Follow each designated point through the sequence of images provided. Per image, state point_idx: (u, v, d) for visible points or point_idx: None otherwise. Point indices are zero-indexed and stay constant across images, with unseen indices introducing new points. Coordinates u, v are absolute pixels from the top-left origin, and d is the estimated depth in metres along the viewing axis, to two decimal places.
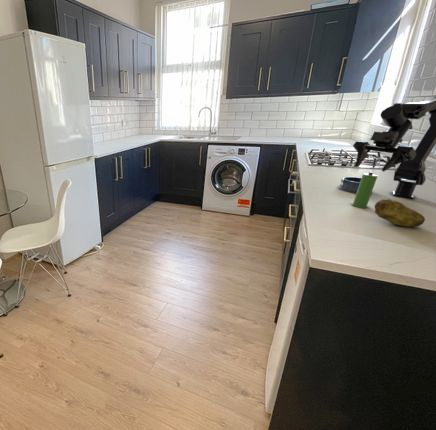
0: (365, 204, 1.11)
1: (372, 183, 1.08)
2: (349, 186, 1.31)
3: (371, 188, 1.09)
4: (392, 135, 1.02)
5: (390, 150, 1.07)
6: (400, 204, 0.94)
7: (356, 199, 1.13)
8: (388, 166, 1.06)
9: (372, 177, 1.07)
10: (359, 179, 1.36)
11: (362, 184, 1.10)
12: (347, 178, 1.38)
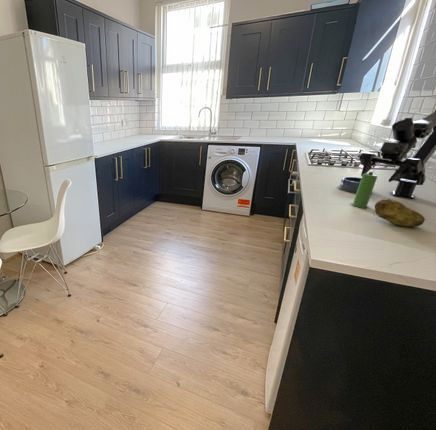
0: (365, 204, 1.11)
1: (372, 183, 1.08)
2: (349, 186, 1.31)
3: (371, 188, 1.09)
4: (403, 146, 1.04)
5: (396, 163, 1.09)
6: (400, 204, 0.94)
7: (356, 199, 1.13)
8: (395, 177, 1.07)
9: (372, 177, 1.07)
10: (359, 179, 1.36)
11: (362, 184, 1.10)
12: (347, 178, 1.38)
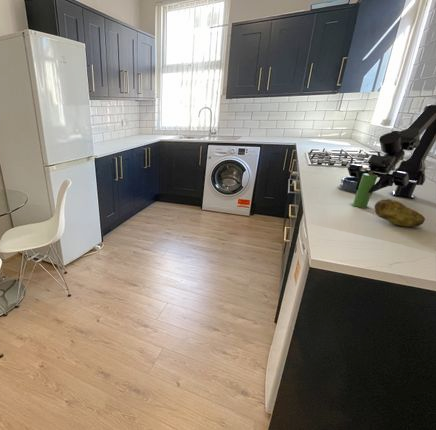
0: (365, 204, 1.11)
1: (372, 183, 1.08)
2: (349, 186, 1.31)
3: None
4: (390, 159, 1.04)
5: (377, 174, 1.10)
6: (400, 204, 0.94)
7: (356, 199, 1.13)
8: (375, 188, 1.08)
9: (372, 177, 1.07)
10: None
11: (362, 184, 1.10)
12: (347, 178, 1.38)
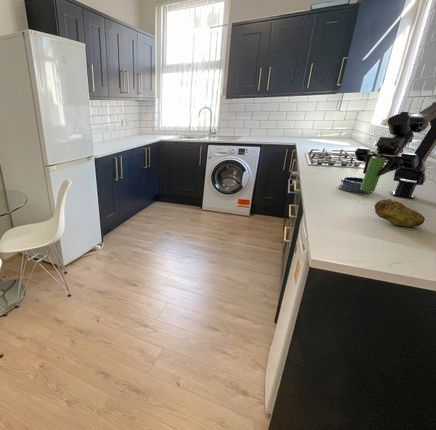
0: (373, 188, 1.09)
1: (381, 165, 1.06)
2: (349, 186, 1.31)
3: (379, 171, 1.07)
4: (398, 141, 1.02)
5: (385, 157, 1.08)
6: (400, 204, 0.94)
7: (364, 183, 1.11)
8: (384, 171, 1.06)
9: (380, 160, 1.05)
10: (359, 179, 1.36)
11: (370, 167, 1.08)
12: (347, 178, 1.38)
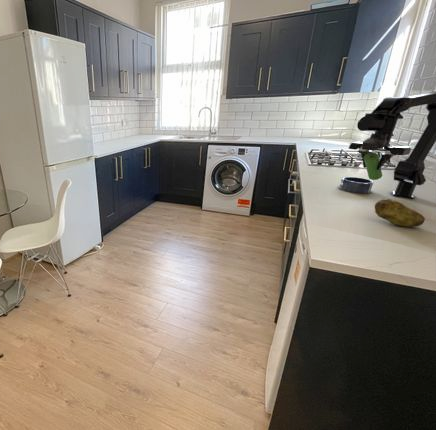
0: (379, 176, 1.20)
1: (376, 163, 1.15)
2: (349, 186, 1.31)
3: None
4: (381, 145, 1.09)
5: (378, 149, 1.15)
6: (400, 204, 0.94)
7: (369, 175, 1.21)
8: (381, 165, 1.15)
9: (373, 160, 1.14)
10: (359, 179, 1.36)
11: (367, 166, 1.18)
12: (347, 178, 1.38)
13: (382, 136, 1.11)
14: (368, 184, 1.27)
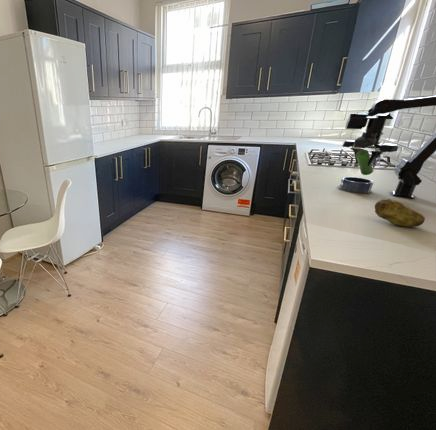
0: (370, 171, 1.31)
1: (367, 159, 1.26)
2: (349, 186, 1.31)
3: None
4: (371, 142, 1.20)
5: None
6: (400, 204, 0.94)
7: (361, 170, 1.32)
8: (372, 161, 1.26)
9: (364, 157, 1.25)
10: (359, 179, 1.36)
11: (359, 162, 1.29)
12: (347, 178, 1.38)
13: (372, 135, 1.22)
14: (368, 184, 1.27)
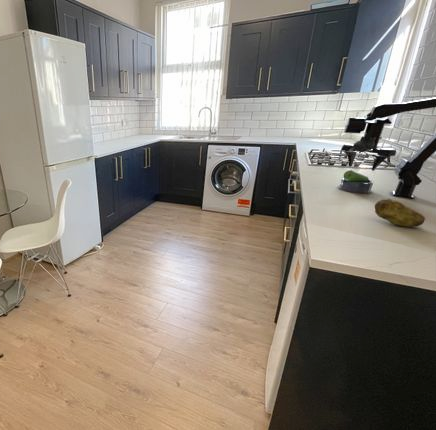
0: (365, 182, 1.32)
1: (355, 179, 1.28)
2: (349, 186, 1.31)
3: (358, 179, 1.29)
4: (369, 147, 1.20)
5: (373, 151, 1.25)
6: (400, 204, 0.94)
7: None
8: (376, 166, 1.25)
9: (351, 179, 1.28)
10: None
11: (349, 180, 1.31)
12: None
13: (371, 139, 1.23)
14: (368, 184, 1.27)
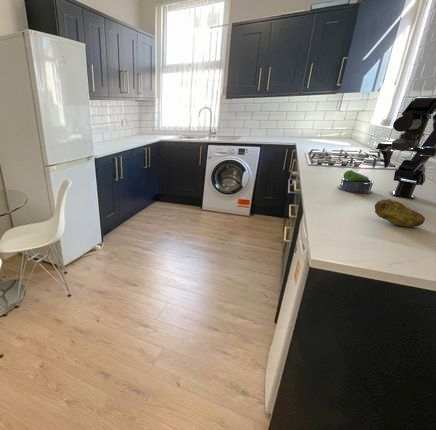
0: (365, 182, 1.32)
1: (355, 179, 1.28)
2: (349, 186, 1.31)
3: (358, 179, 1.29)
4: (412, 145, 1.07)
5: (415, 150, 1.12)
6: (400, 204, 0.94)
7: None
8: (417, 167, 1.12)
9: (351, 179, 1.28)
10: None
11: (349, 180, 1.31)
12: None
13: (412, 136, 1.10)
14: (368, 184, 1.27)
